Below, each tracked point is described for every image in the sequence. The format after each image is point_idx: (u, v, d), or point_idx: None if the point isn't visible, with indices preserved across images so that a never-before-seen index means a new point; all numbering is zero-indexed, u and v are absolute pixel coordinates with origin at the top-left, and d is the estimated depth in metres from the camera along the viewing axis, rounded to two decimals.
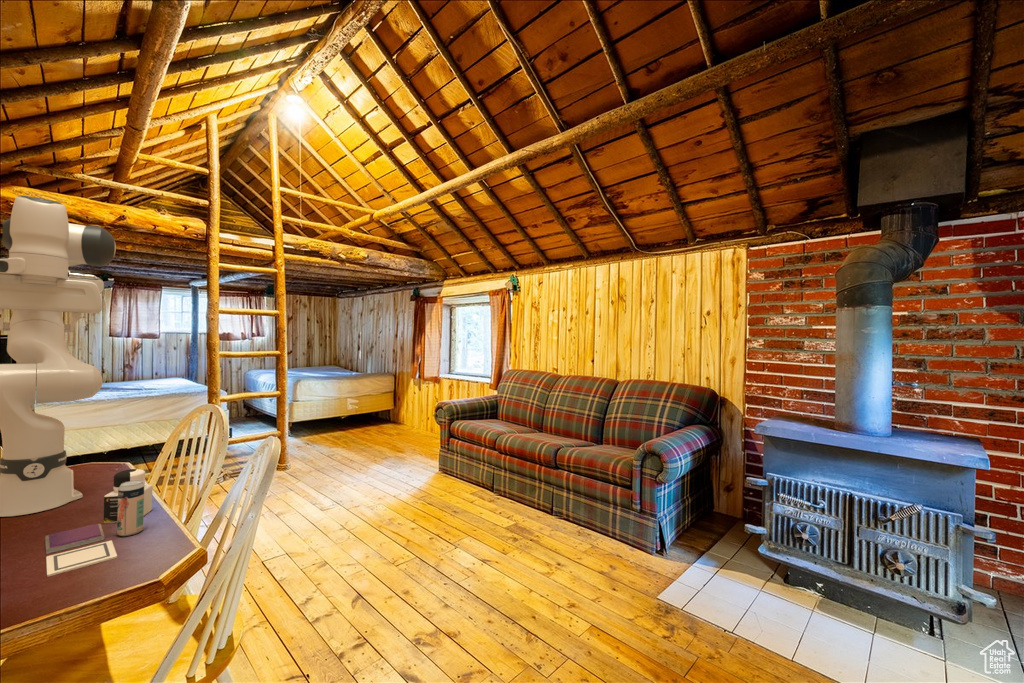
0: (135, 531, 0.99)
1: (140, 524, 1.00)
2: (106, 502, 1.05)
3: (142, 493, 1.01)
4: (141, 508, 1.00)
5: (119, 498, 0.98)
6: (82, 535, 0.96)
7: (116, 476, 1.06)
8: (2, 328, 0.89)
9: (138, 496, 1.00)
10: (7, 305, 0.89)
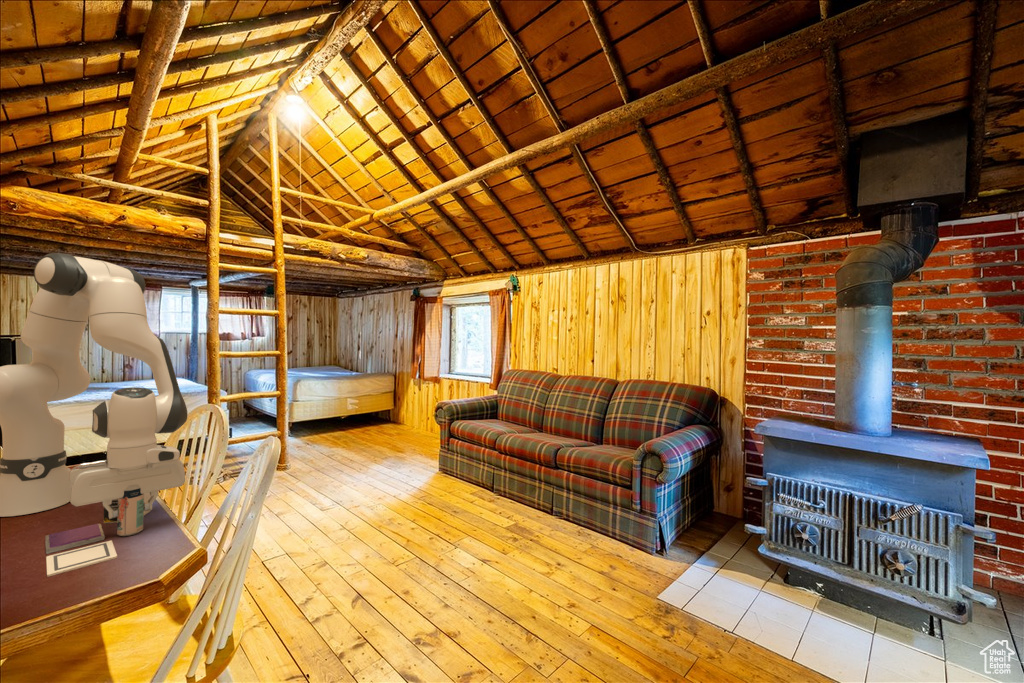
0: (135, 531, 0.99)
1: (140, 524, 1.00)
2: None
3: None
4: (141, 508, 1.00)
5: (119, 498, 0.98)
6: (82, 535, 0.96)
7: None
8: None
9: (139, 496, 1.00)
10: None
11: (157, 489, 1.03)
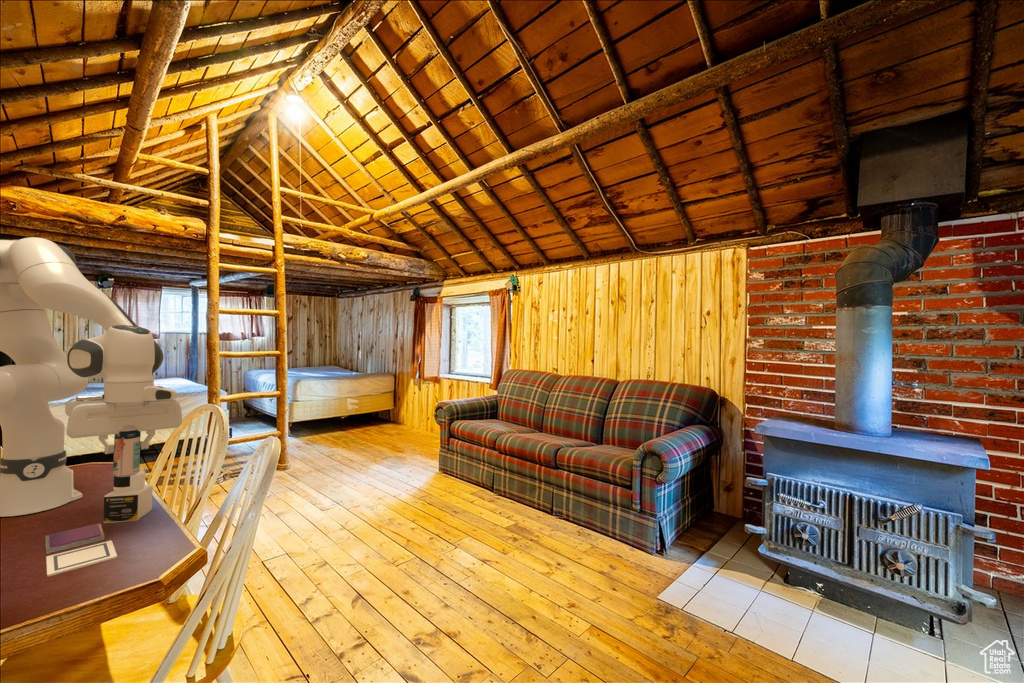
0: (131, 472, 0.99)
1: (136, 466, 1.00)
2: (106, 502, 1.05)
3: (139, 435, 1.01)
4: (137, 450, 1.00)
5: (115, 439, 0.98)
6: (82, 535, 0.96)
7: None
8: None
9: (135, 438, 0.99)
10: None
11: (154, 428, 1.02)
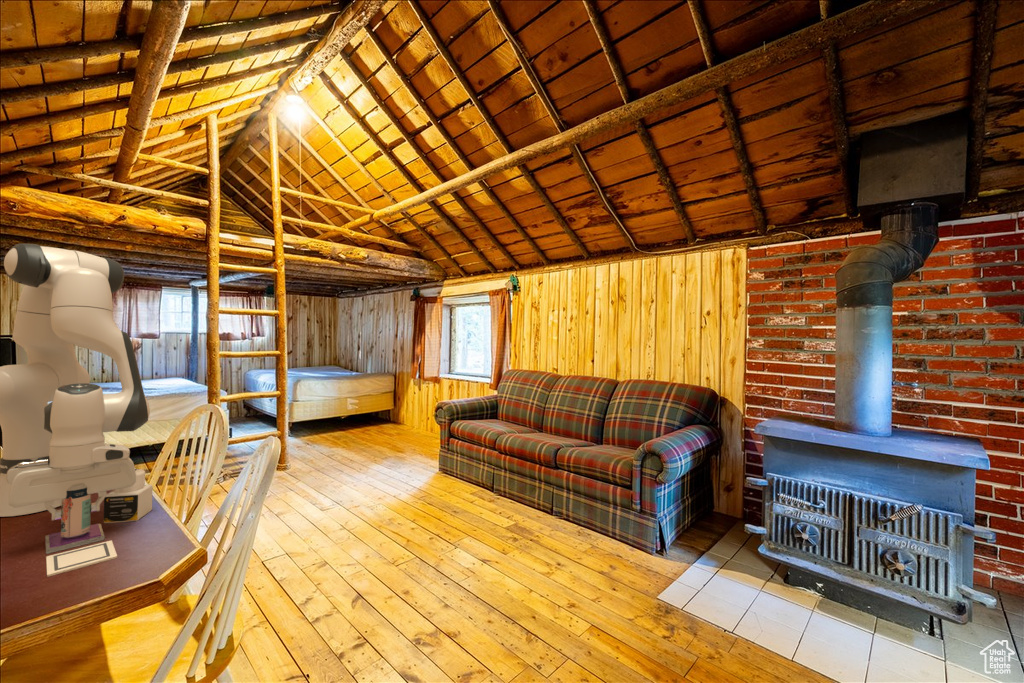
0: (80, 533, 0.95)
1: (86, 525, 0.96)
2: (106, 502, 1.05)
3: None
4: (87, 509, 0.96)
5: None
6: (82, 535, 0.96)
7: None
8: None
9: (84, 496, 0.95)
10: None
11: (105, 489, 0.98)
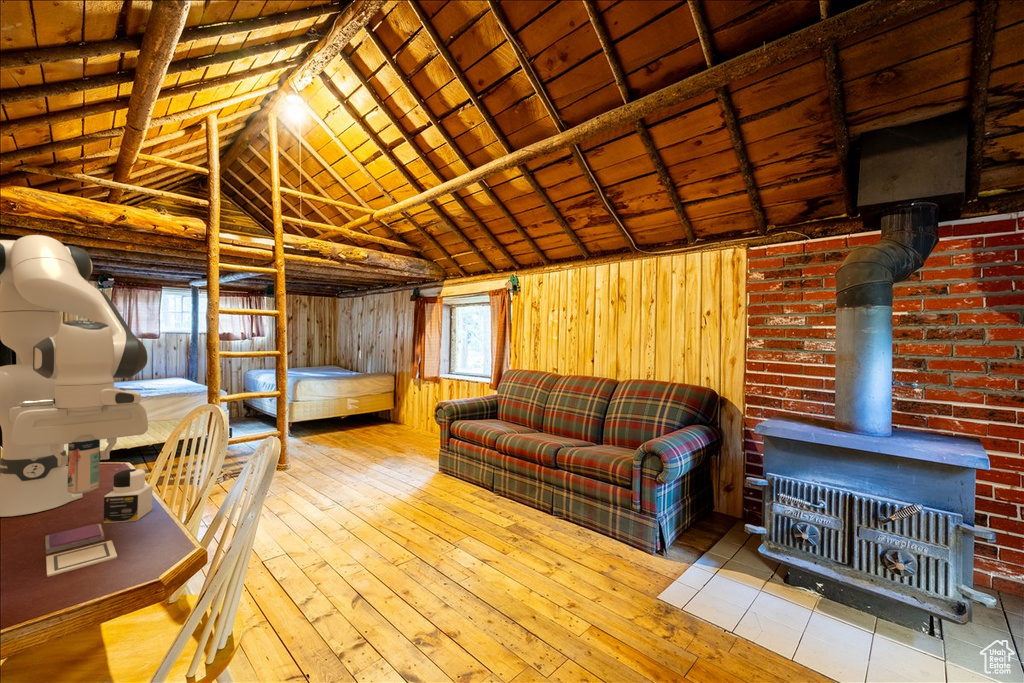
0: (89, 488, 0.87)
1: (95, 481, 0.89)
2: (106, 502, 1.05)
3: (97, 446, 0.89)
4: (96, 463, 0.89)
5: (69, 450, 0.86)
6: (82, 535, 0.96)
7: (116, 476, 1.06)
8: None
9: (92, 449, 0.88)
10: None
11: (115, 436, 0.91)
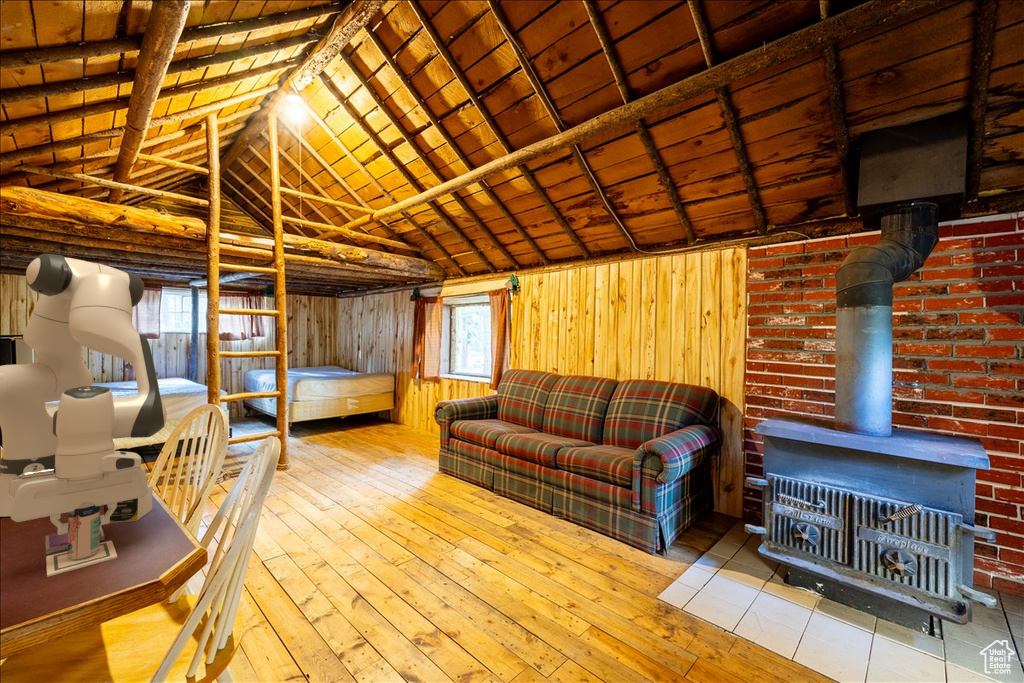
0: (89, 554, 0.88)
1: (95, 546, 0.89)
2: None
3: (98, 511, 0.89)
4: (96, 528, 0.89)
5: (70, 517, 0.86)
6: None
7: None
8: None
9: (93, 514, 0.88)
10: None
11: (115, 501, 0.91)
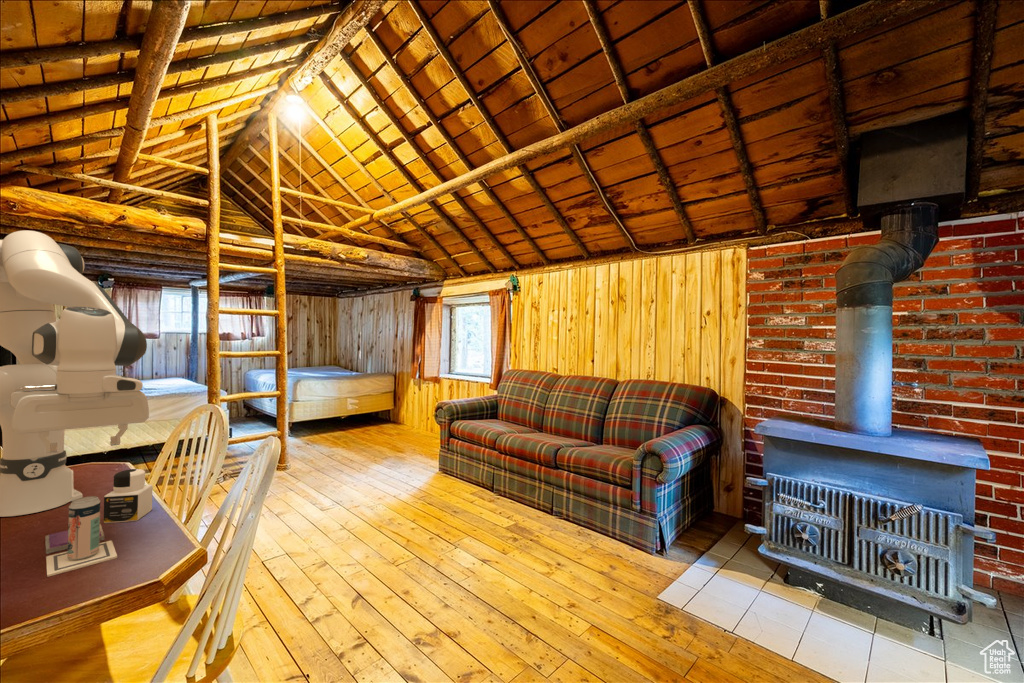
0: (89, 554, 0.88)
1: (95, 546, 0.89)
2: (106, 502, 1.05)
3: (98, 511, 0.89)
4: (96, 528, 0.89)
5: (70, 517, 0.87)
6: None
7: (116, 476, 1.06)
8: None
9: (93, 514, 0.88)
10: None
11: (116, 423, 0.91)
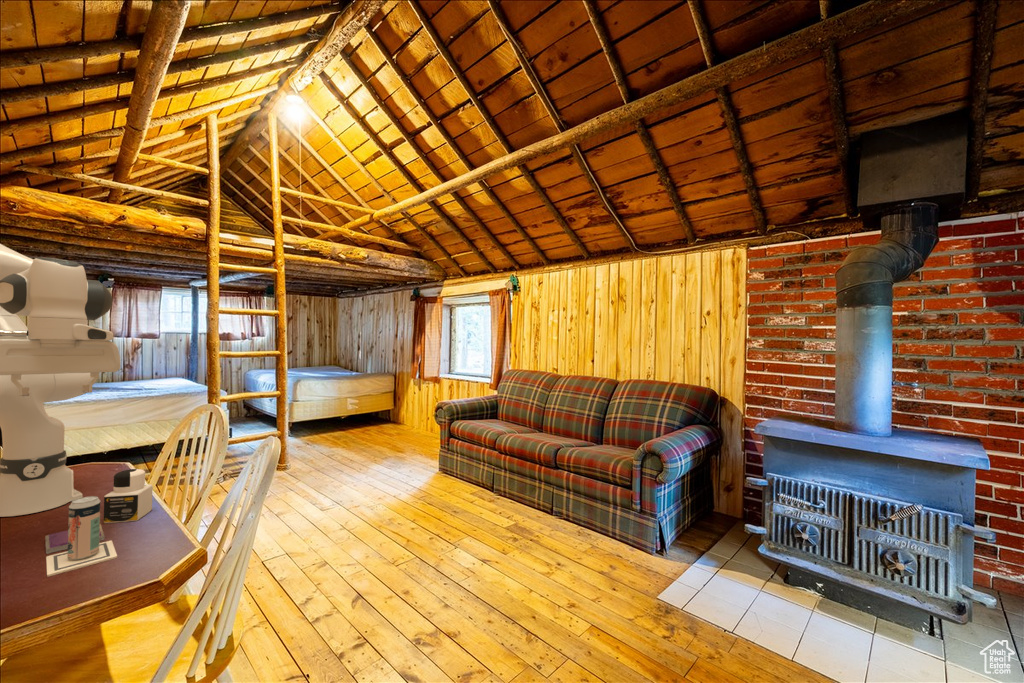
0: (89, 554, 0.88)
1: (95, 546, 0.89)
2: (106, 502, 1.05)
3: (98, 511, 0.89)
4: (96, 528, 0.89)
5: (70, 517, 0.87)
6: None
7: (116, 476, 1.06)
8: None
9: (93, 514, 0.88)
10: None
11: (87, 370, 0.94)
